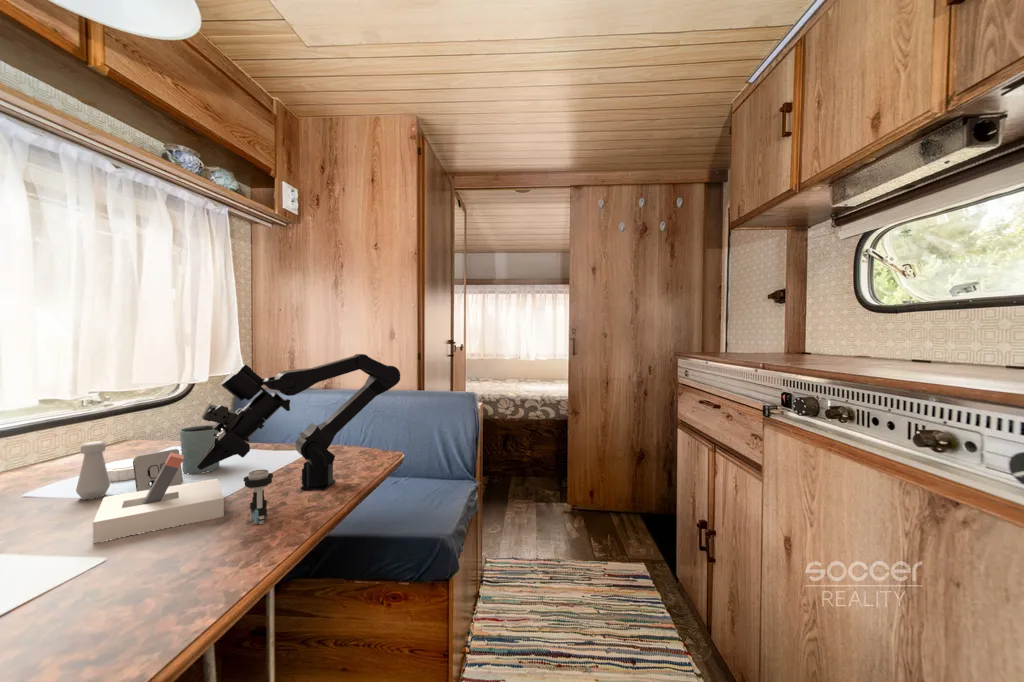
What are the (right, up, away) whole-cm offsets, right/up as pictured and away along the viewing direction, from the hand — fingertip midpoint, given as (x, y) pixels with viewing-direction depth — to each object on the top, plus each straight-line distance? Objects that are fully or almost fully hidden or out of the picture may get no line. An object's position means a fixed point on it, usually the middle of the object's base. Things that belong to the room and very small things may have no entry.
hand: (198, 468), depth 95 cm
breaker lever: (-6, -6, -5) cm, 10 cm away
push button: (+17, -9, -6) cm, 20 cm away
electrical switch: (-20, -9, +13) cm, 26 cm away
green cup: (-21, -9, +29) cm, 37 cm away
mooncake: (-37, -9, +24) cm, 46 cm away
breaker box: (-5, -9, -4) cm, 11 cm away
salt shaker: (-30, -9, +7) cm, 33 cm away
